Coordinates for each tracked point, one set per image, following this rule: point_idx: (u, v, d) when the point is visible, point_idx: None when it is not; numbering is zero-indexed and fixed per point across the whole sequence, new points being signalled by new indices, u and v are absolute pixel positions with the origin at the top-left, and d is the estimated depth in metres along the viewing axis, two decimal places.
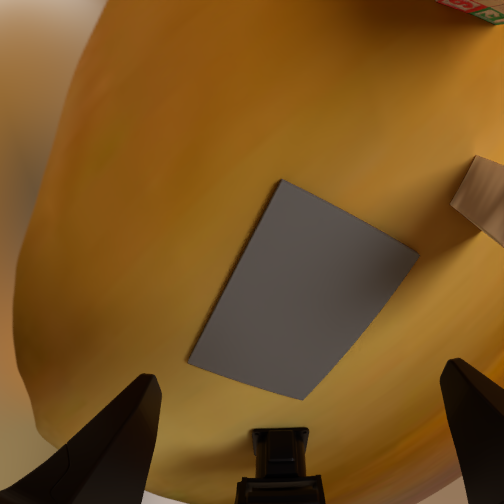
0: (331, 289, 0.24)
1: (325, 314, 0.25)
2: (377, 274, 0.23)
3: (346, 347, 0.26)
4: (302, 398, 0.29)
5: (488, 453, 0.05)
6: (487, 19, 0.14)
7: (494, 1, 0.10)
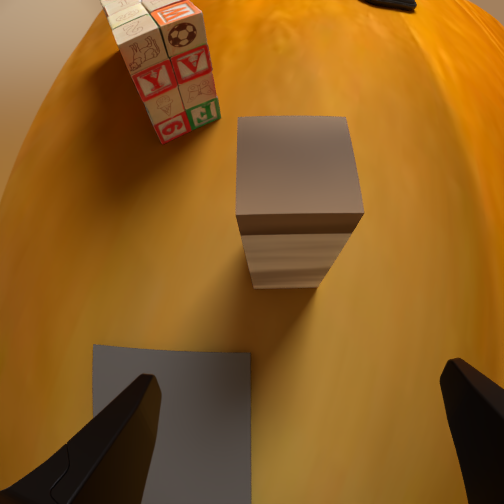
0: (179, 426, 0.20)
1: (192, 455, 0.19)
2: (215, 393, 0.20)
3: (245, 486, 0.18)
4: None
5: (488, 453, 0.05)
6: (209, 121, 0.28)
7: (174, 102, 0.24)
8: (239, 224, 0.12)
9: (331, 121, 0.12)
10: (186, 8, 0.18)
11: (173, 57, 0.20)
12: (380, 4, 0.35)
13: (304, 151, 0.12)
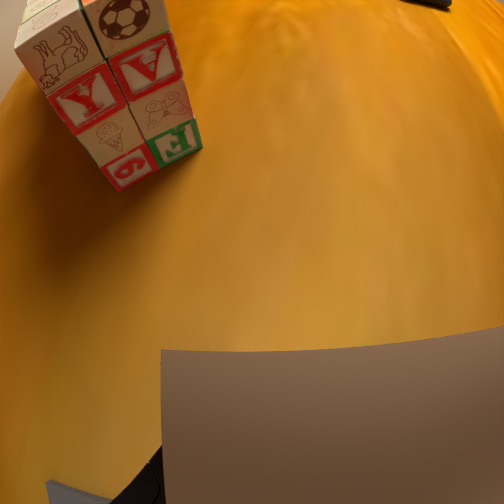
0: None
1: None
2: None
3: None
4: None
5: None
6: (185, 153, 0.19)
7: (125, 131, 0.15)
8: None
9: (485, 350, 0.03)
10: None
11: (112, 59, 0.11)
12: None
13: (392, 495, 0.03)
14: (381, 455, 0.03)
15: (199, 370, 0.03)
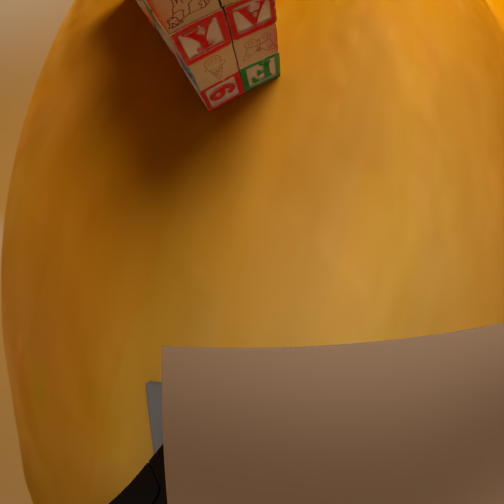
0: None
1: None
2: None
3: None
4: None
5: None
6: (266, 79, 0.21)
7: (226, 63, 0.17)
8: None
9: (486, 347, 0.03)
10: None
11: (228, 8, 0.13)
12: None
13: (393, 492, 0.03)
14: (383, 452, 0.03)
15: (200, 367, 0.03)
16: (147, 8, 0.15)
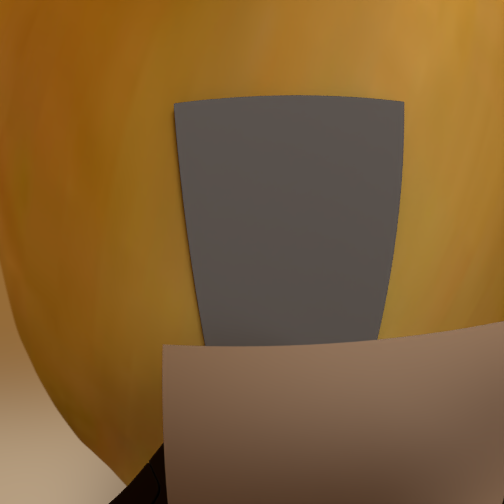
0: (315, 200, 0.17)
1: (329, 237, 0.18)
2: (363, 151, 0.15)
3: (385, 271, 0.18)
4: None
5: None
6: None
7: None
8: None
9: (483, 346, 0.03)
10: None
11: None
12: None
13: (391, 490, 0.03)
14: (381, 449, 0.03)
15: (200, 365, 0.03)
16: None
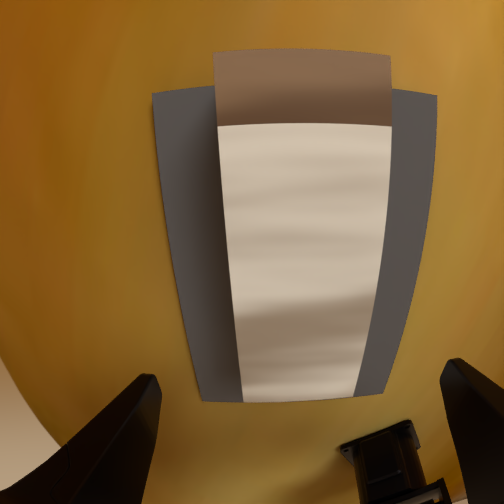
0: None
1: None
2: None
3: (406, 296, 0.15)
4: (381, 391, 0.19)
5: (488, 453, 0.05)
6: None
7: None
8: (216, 84, 0.07)
9: None
10: None
11: None
12: None
13: None
14: None
15: None
16: None
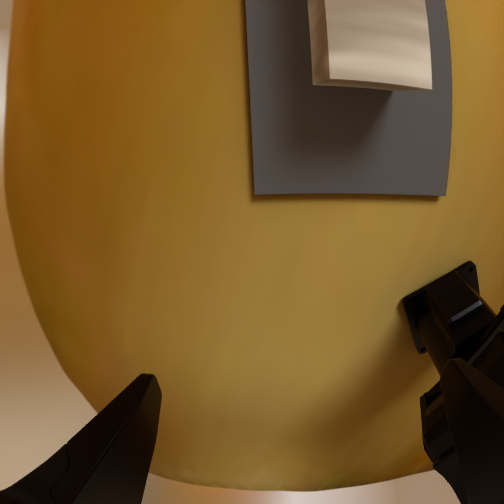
0: None
1: None
2: None
3: (447, 70, 0.14)
4: (443, 191, 0.17)
5: (488, 453, 0.05)
6: None
7: None
8: None
9: None
10: None
11: None
12: None
13: None
14: None
15: None
16: None
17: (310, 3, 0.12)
